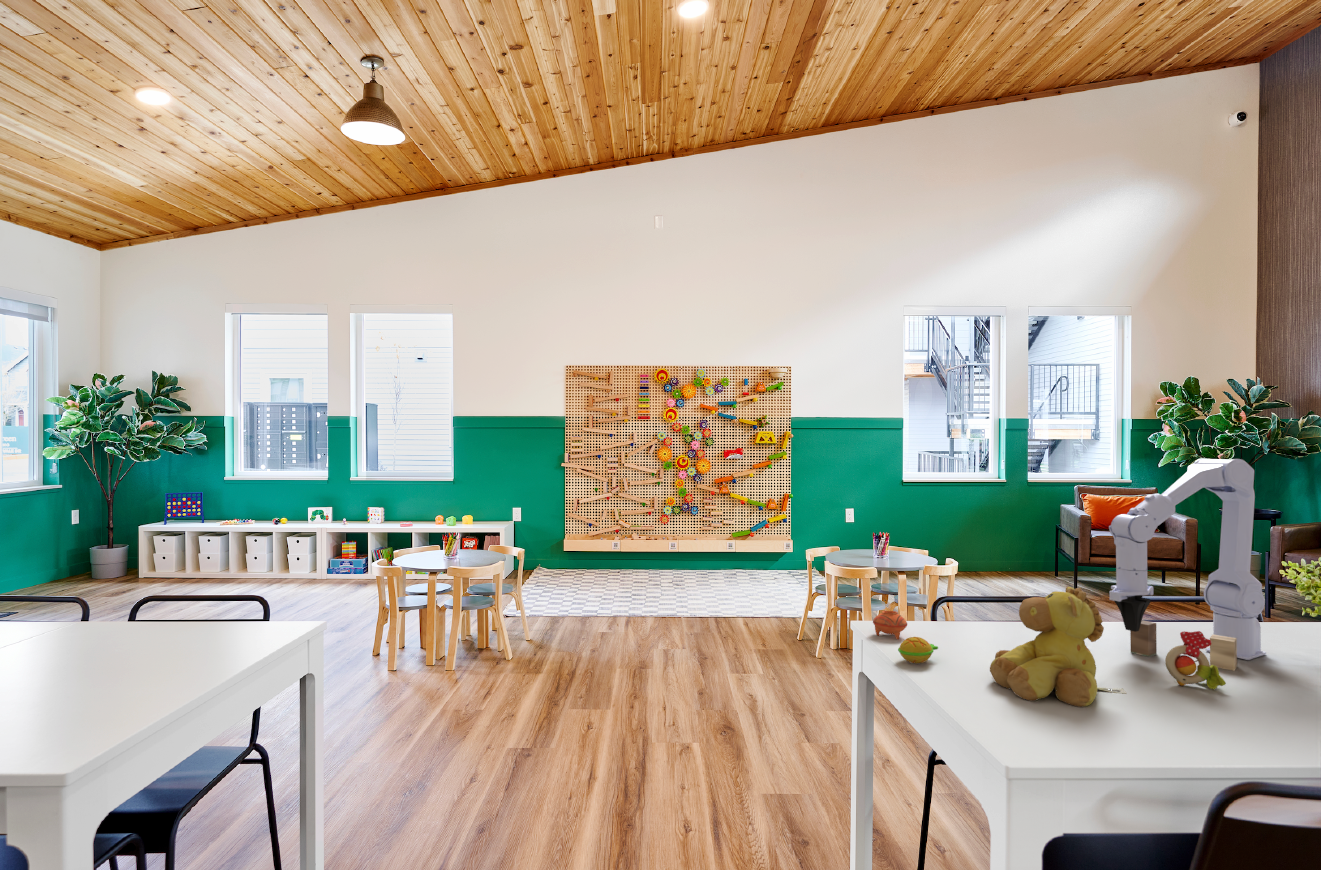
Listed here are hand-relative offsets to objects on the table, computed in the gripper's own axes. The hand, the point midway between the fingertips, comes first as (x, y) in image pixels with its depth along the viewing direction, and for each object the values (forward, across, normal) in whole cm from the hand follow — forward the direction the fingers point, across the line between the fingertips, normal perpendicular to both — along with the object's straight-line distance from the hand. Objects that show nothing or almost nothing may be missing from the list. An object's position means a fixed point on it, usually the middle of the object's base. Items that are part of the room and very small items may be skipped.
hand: (1132, 630), depth 152 cm
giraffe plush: (+6, +36, +3) cm, 36 cm away
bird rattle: (+6, +10, +16) cm, 20 cm away
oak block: (+6, -10, +13) cm, 17 cm away
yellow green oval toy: (+6, +45, -20) cm, 50 cm away
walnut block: (+6, -5, 0) cm, 8 cm away
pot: (+6, +35, -37) cm, 51 cm away
